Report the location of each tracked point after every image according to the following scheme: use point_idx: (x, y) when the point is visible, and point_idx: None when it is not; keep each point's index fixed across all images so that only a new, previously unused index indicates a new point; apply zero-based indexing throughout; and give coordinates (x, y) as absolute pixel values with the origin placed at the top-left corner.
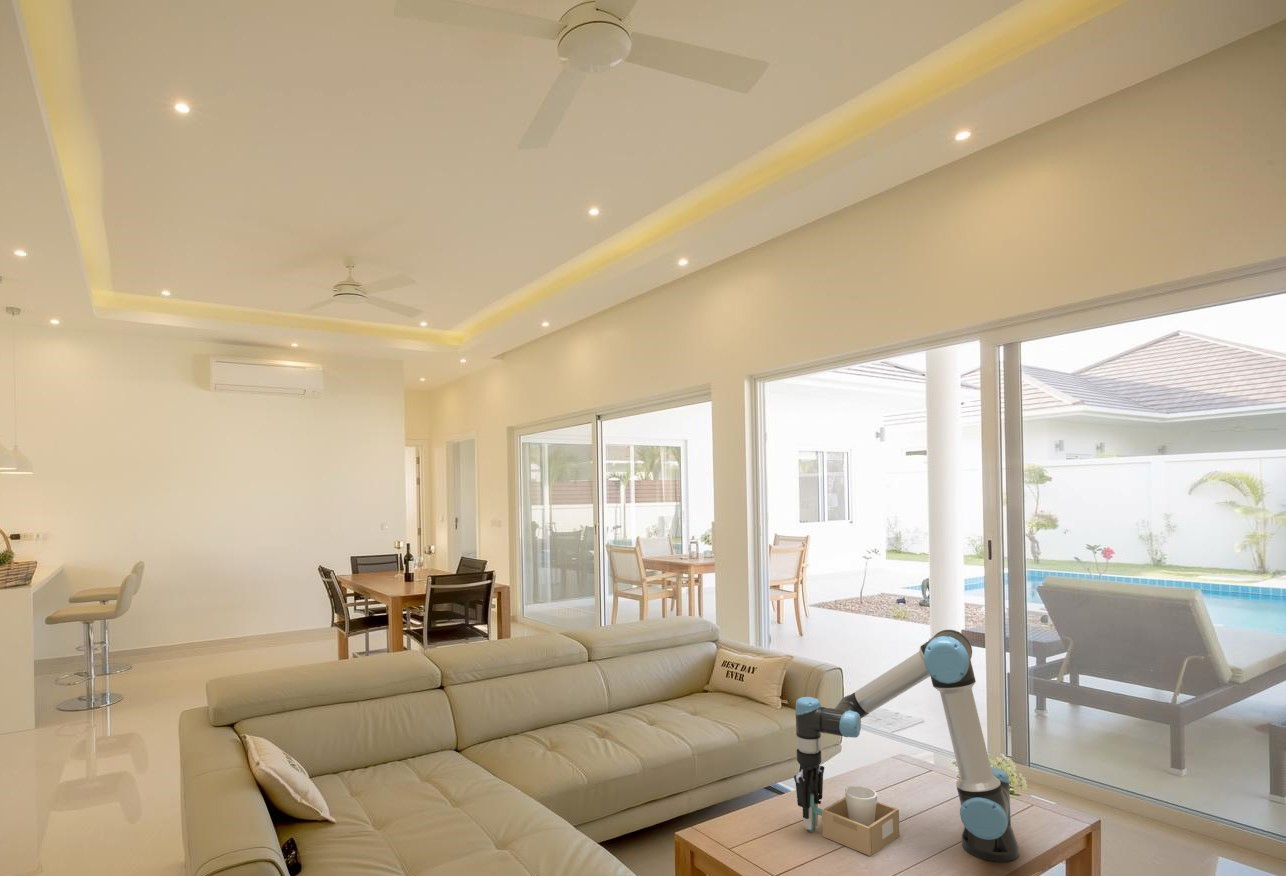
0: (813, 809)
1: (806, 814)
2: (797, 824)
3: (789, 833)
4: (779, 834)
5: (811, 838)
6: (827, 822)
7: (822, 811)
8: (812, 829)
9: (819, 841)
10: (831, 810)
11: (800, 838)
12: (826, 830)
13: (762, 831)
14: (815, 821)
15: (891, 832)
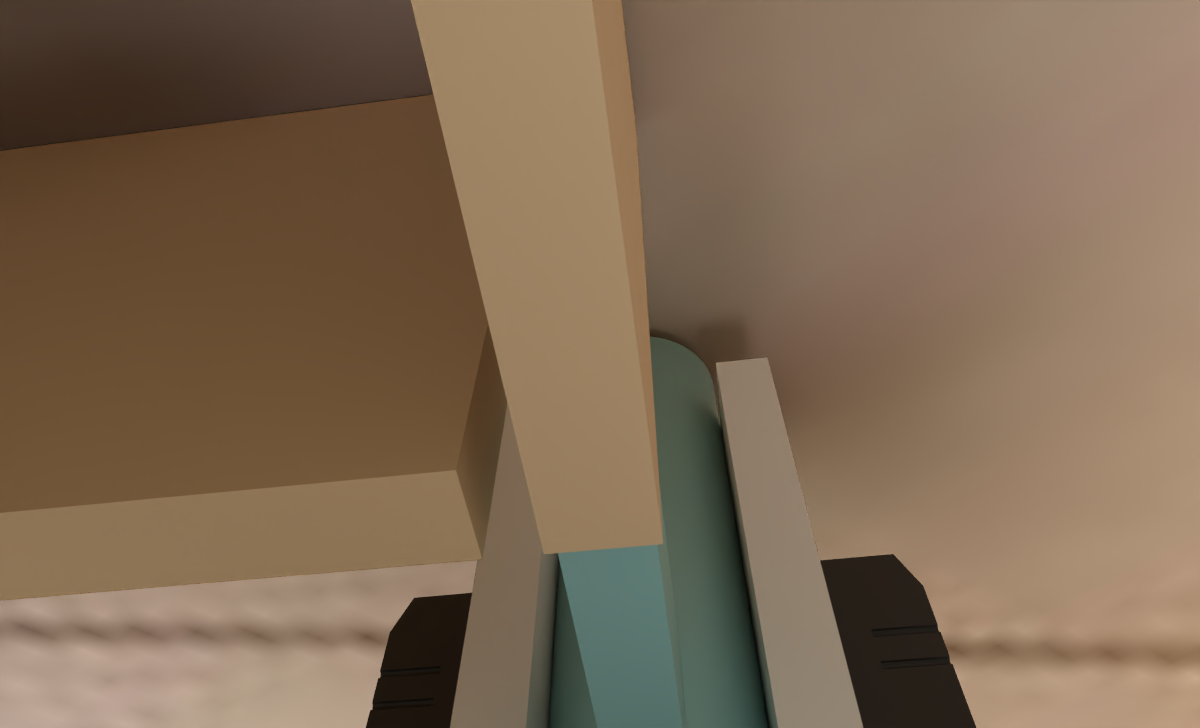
0: (687, 711)
1: (944, 659)
2: None
3: (972, 516)
4: (1104, 568)
5: (861, 216)
6: (624, 109)
7: (656, 485)
8: (678, 369)
9: (852, 31)
10: (121, 407)
11: (1006, 330)
12: (626, 72)
13: (1169, 707)
14: None
15: None
